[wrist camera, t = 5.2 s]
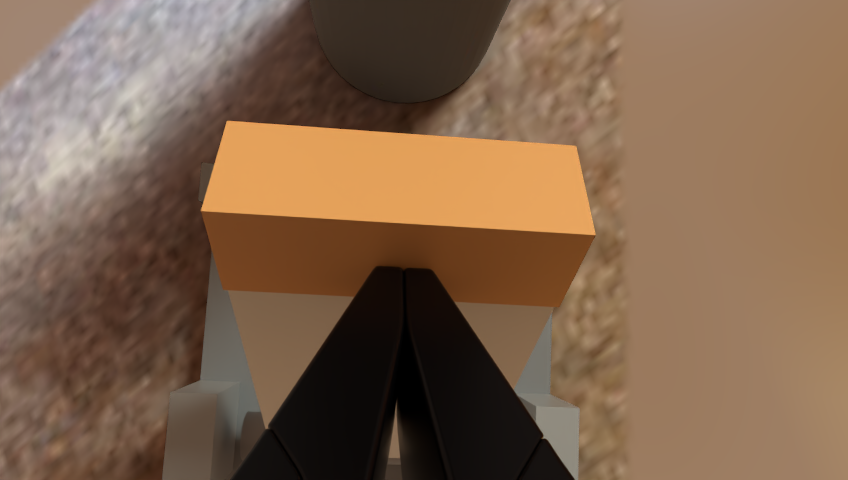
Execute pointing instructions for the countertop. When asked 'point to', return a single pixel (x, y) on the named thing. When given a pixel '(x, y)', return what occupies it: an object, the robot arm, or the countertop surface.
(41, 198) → the countertop surface
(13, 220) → the countertop surface
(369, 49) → the bottle
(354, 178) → the lever
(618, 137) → the countertop surface
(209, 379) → the grey twin-post base
